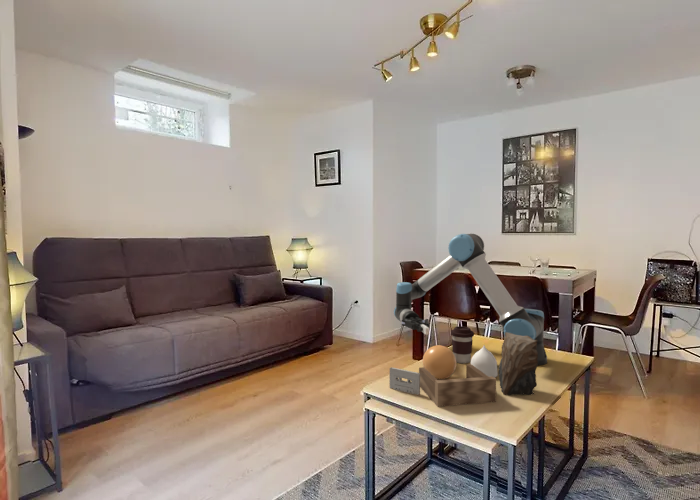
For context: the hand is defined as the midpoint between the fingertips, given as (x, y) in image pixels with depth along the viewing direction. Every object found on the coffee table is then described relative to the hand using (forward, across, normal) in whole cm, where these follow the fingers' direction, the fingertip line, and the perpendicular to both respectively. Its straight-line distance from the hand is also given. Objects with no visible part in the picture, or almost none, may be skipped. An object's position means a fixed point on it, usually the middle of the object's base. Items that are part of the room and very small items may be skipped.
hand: (427, 331), depth 175 cm
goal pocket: (+26, -1, -16) cm, 31 cm away
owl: (+27, -23, -16) cm, 39 cm away
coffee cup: (-7, -19, -16) cm, 26 cm away
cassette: (+21, +16, -16) cm, 31 cm away
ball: (+11, -1, -9) cm, 15 cm away
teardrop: (+9, -21, -16) cm, 28 cm away
